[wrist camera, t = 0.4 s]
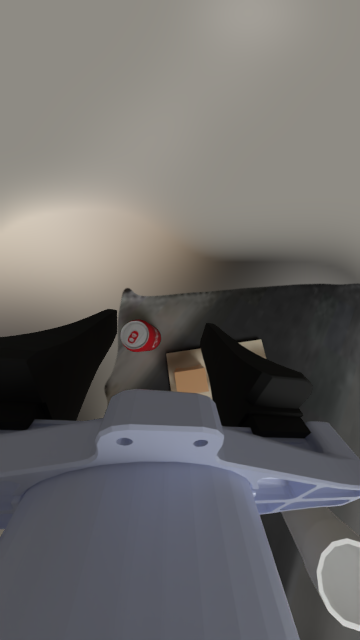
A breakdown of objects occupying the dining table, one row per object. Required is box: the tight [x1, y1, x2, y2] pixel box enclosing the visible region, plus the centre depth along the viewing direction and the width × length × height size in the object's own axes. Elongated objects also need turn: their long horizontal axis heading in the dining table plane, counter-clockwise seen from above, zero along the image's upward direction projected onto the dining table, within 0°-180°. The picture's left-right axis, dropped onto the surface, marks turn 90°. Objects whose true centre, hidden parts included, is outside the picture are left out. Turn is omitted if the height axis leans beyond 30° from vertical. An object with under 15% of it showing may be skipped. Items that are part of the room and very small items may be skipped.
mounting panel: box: [166, 339, 266, 399], centre depth 34 cm, size 17×24×6 cm
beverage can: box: [120, 320, 161, 352], centre depth 33 cm, size 6×6×12 cm
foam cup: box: [281, 507, 360, 631], centre depth 26 cm, size 10×9×13 cm
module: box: [174, 364, 209, 393], centre depth 33 cm, size 4×6×6 cm
